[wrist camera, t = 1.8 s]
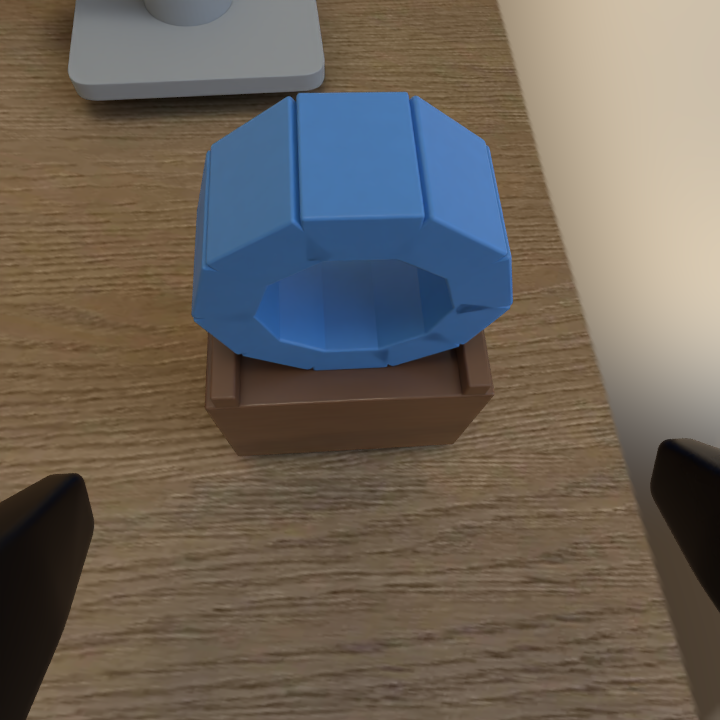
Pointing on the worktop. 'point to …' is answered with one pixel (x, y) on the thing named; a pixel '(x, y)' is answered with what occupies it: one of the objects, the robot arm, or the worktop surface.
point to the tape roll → (349, 234)
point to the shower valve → (194, 48)
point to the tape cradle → (345, 401)
